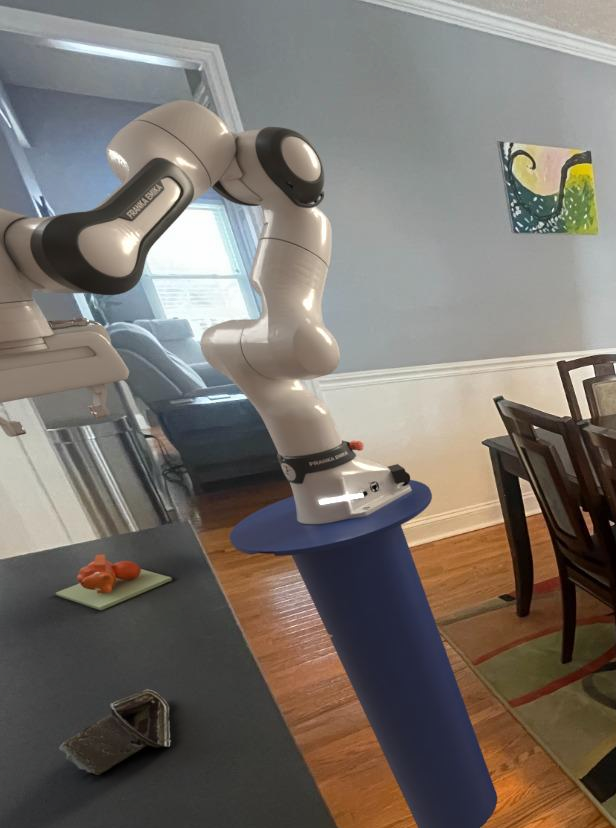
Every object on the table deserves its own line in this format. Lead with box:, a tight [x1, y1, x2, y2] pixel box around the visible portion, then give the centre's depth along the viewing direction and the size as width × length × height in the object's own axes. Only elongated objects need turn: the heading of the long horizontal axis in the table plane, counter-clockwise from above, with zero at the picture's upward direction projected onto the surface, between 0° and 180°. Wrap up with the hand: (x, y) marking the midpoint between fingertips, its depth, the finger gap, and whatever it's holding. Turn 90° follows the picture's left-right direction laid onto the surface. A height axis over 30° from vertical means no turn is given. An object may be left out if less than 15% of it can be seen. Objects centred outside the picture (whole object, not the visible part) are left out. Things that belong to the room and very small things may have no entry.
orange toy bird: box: [76, 554, 142, 593], centre depth 102 cm, size 5×8×12 cm
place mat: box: [55, 568, 173, 611], centre depth 103 cm, size 10×14×1 cm
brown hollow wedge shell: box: [58, 688, 172, 776], centre depth 68 cm, size 10×7×12 cm
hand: (61, 425), depth 87 cm, fingers open, 8 cm apart
